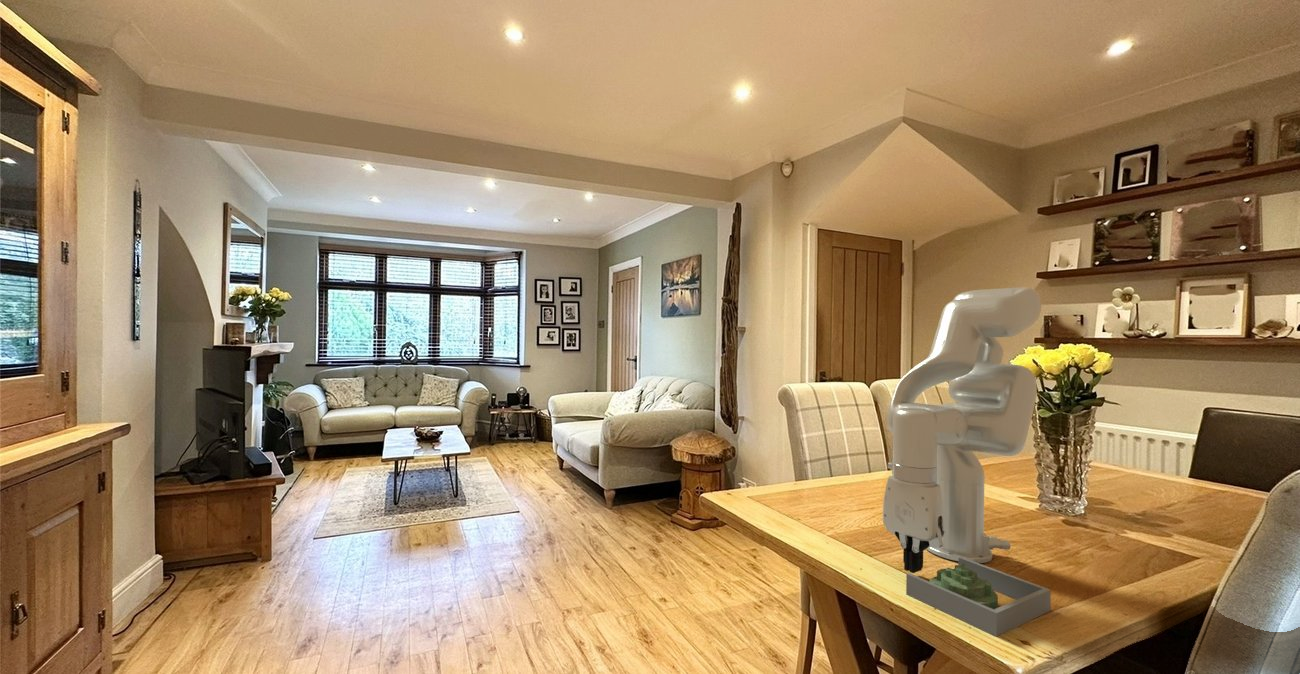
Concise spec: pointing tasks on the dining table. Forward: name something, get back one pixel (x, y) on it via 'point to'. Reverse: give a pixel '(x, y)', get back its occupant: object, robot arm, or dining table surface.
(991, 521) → the dining table surface
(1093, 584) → the dining table surface
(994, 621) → the box
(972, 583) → the decorative artifact
